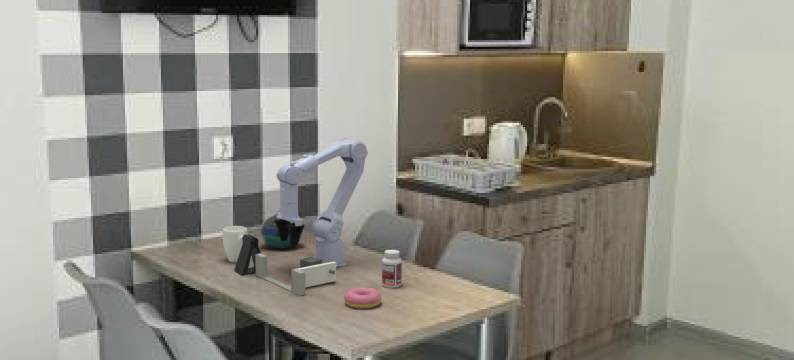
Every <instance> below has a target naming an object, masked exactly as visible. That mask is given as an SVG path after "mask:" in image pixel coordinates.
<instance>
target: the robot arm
mask: <svg viewBox="0 0 794 360" xmlns="http://www.w3.org/2000/svg"><path fill="white" fill-rule="evenodd" d="M368 154H369V152H368V149H367V146H366V144H365V143H364V142H363V141H361V140H354V139H350V138H345V137H344V138H341V139H340V140H336V141H335V142H334V143H333V144H331V145H329V146H328V147H326V148H324V149H322V150H321V151H320V152H318V153H316V154H315V155H312V154H303V155H302V157H301V158H299V159H297V160H295V161H294V160H293V161H291V162H290V164H283V165H281V166H280V167H279V169H278V171H277V173H276V174H275V175H276V178H277V180H278V182H279V202H280V203H279V210H278V211H279V212H277V211H276V212H277V219H276V220H274V222H275V224H276V226H277V229H278V232H279V236H280V240H281V241H286V240H287V239H288V231H289V236H290V244H291V246H293V247H297V246H298V245H299V243H300V241H299V238H300V235H301V232H302V230H303V231H304V229H305V224H303V219H302V218H300V216H299V183H300V182H301V180H302V178H304V177H306V176H308V175H310V174H312V173H314V172H316V171H317V170H318V168H319V166H320V165H322V164H324V163H326V162H328V161H330V160H331V161H332V160H334V159H335V158H337V157H340V158H341V160H342V162H343V163H344V165H345V168H346V169H345V172H344V173H343V175H342V178H341V180H340V182H339V184H338V186H337V188H336V190H335V192H334V194H333V197H332V198H331V201H330V203H329V204H328V206H327V208H326V210H325V211H323V212H321V213H320V214H319V216H318V218H316V219H315V221H314V222H313V223H312V226H311V232H312V233H313V235H314V236H315V237H314V238H315V258H318V259H322V264H323V263H328V262H336V268H339V267H344V266H346V265H347V263H345V261H346V260H345V259H346V258H345V256H346V255H345V253H346V252H345V251H346V248H345V243H344V241H343V239H341V236H342V233H343V232H342V231H343V227H344V220H343V214H344V212H345V210H346V208H347V206H348V204H349V202H350V201H351V200H350V199H351V198H352V195H353V194H354V191H355V190H356V187H357V185H358V183H359V182H360V179H361V177H362V174H363V172H364V170H365V163H366V158H367V156H368ZM290 223H292V224H291V225H290ZM298 242H299V243H298Z"/></svg>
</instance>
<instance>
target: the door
mask: <svg viewBox="0 0 794 360" xmlns="http://www.w3.org/2000/svg"><path fill="white" fill-rule="evenodd" d="M295 269H299V270H301V271H304V272H305V288H308V287H313V286H318V285H323V284H327V283H333V282H336V281H337V267H336V262H328V263H323V264H318V265H313V266H308V267H303V268H300V267H298V268H294V270H295Z"/></svg>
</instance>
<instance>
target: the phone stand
mask: <svg viewBox="0 0 794 360" xmlns="http://www.w3.org/2000/svg"><path fill="white" fill-rule="evenodd" d="M242 240H243V243H242V247H241V250H240V253H239V256H238V260H237V262H235V267H234V271H235V272H236V273H238V274H240V276H247V275H253V274H256V254H260V253H261V250H260V247H259V246H260V245H259V243H260V242H259V238H257V237H255V236H254V235H251V234H250V233H247V235H246V234H245V235H243V237H242ZM261 254H262V253H261ZM251 260H252V263H253V264H252V265H253V266H251V267H249V266H250V261H251Z"/></svg>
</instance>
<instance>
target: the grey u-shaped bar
mask: <svg viewBox="0 0 794 360" xmlns="http://www.w3.org/2000/svg"><path fill="white" fill-rule="evenodd" d="M290 269H291V272H290V274H291V276H290V279H291V286H289V285H287V284H285V283H283V282H281V281H279V280H278V279H277V280H276V279H274V278H272V277H269V276H268V255H266V254H263V253H260V254H256V273H255V276H257V277H259V278H260V279H262V280H264V281H267V282H269V283H271V284H274V285H275V286H278V287H280V288H282V289H284V290H286V291H288V292H290V293H293V294H295V295H297V296H299V297H301V296H305V295H306V287H305V272H304V271H301V270H299V269H297V268H293V267H292V268H290ZM294 269H295V270H294Z"/></svg>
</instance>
